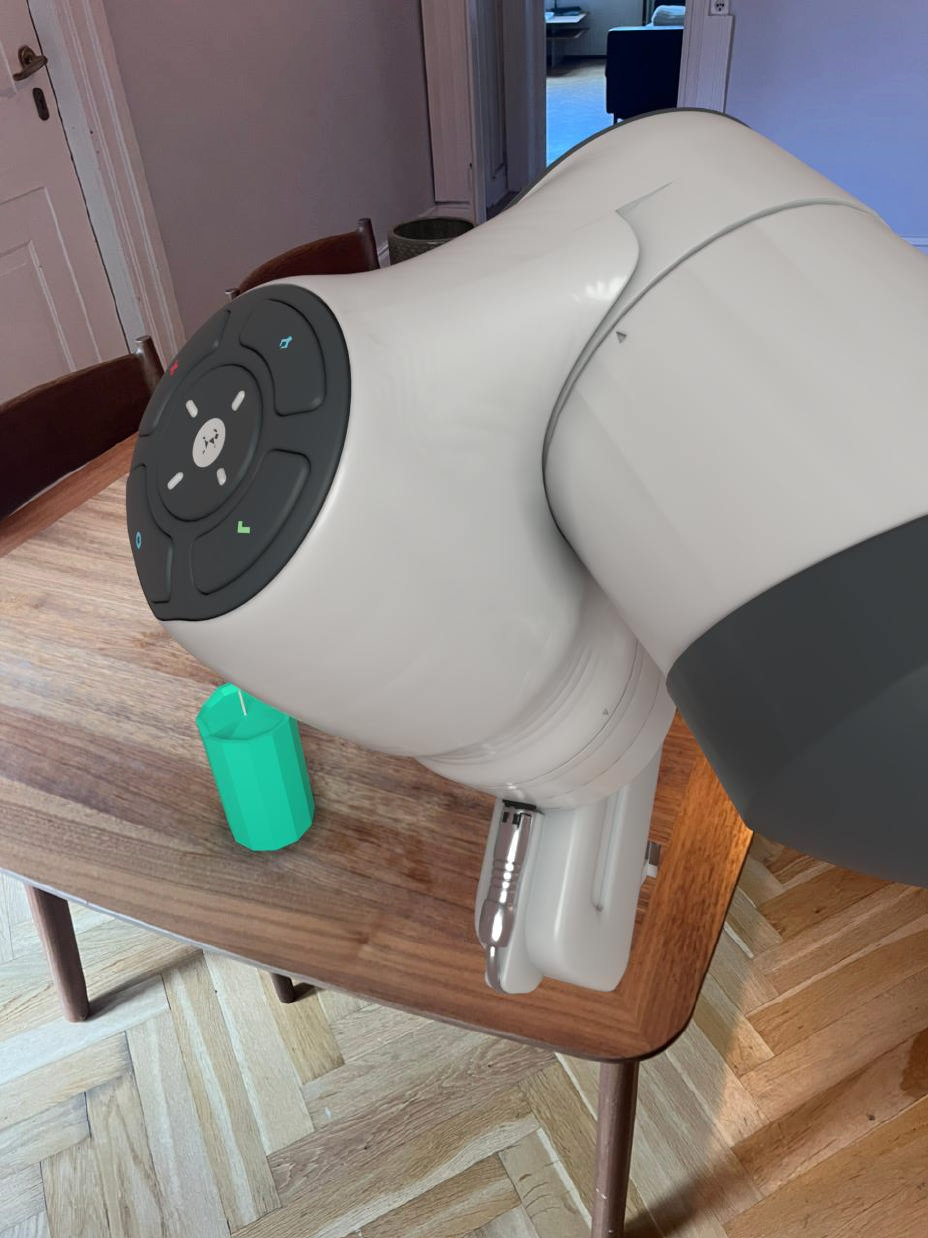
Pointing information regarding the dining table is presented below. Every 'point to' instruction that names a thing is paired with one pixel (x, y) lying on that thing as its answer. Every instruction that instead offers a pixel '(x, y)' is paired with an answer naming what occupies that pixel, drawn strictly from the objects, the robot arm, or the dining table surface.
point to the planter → (424, 235)
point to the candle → (256, 768)
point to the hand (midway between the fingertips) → (658, 756)
